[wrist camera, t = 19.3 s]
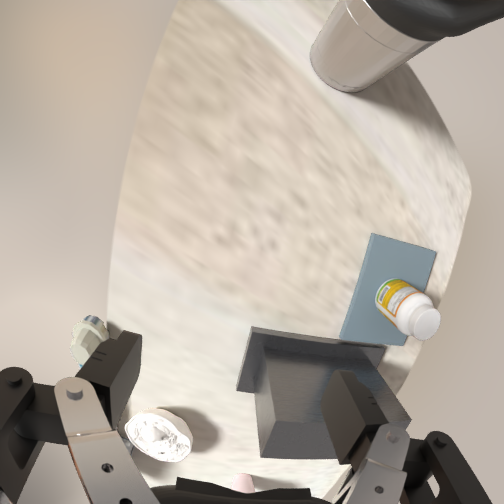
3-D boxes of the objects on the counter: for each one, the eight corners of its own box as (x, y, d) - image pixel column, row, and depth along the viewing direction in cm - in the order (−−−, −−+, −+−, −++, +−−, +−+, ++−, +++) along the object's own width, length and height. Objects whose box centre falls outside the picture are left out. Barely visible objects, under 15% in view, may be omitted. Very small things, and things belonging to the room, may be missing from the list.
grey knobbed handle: (92, 443, 39) (56, 336, 31) (102, 417, 45) (77, 310, 37) (119, 450, 40) (90, 345, 31) (127, 424, 46) (109, 316, 37)
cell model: (150, 443, 44) (143, 470, 37) (123, 396, 41) (110, 422, 34) (203, 441, 44) (200, 470, 37) (181, 391, 41) (174, 421, 34)
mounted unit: (251, 326, 39) (259, 402, 24) (381, 344, 41) (432, 405, 26) (236, 384, 41) (237, 465, 26) (357, 395, 43) (393, 462, 28)
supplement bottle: (408, 306, 39) (445, 335, 29) (376, 319, 39) (409, 353, 29) (405, 272, 37) (446, 296, 28) (371, 284, 37) (407, 313, 28)
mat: (371, 232, 37) (374, 234, 36) (432, 250, 38) (436, 251, 37) (339, 336, 40) (341, 339, 39) (400, 342, 41) (402, 345, 40)
